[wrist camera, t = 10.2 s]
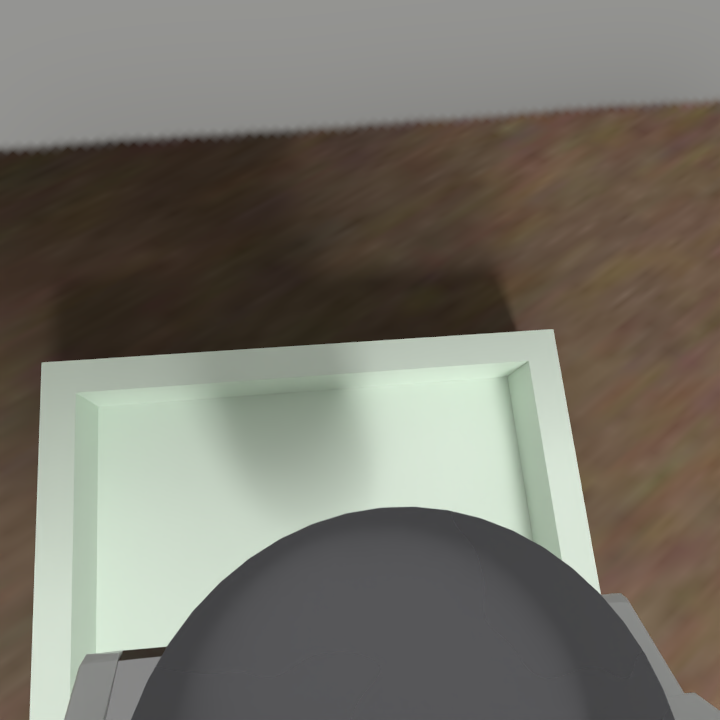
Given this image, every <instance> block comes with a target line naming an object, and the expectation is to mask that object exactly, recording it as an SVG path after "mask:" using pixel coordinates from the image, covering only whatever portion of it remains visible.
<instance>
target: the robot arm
mask: <svg viewBox="0 0 720 720" xmlns="http://www.w3.org/2000/svg"><path fill="white" fill-rule="evenodd" d="M601 596H602V597H603V598H604V599H605V600H606V601H607V603H608V604H609V605H610V606H611V607H612V608H613V610H614V611H615V612H616V613H617V614H618V616H619V617H620V618H621V619H622V620H623V621H624V623H625V624H626V626H627V627H628V629H629V630H630V632H631V633H632V635H633V636H634V638H635V639H636V641H637V642H638V644H639V645H640V647H641V648H642V650H643V651H644V653H645V655H646V657H647V659H648V660H649V662H650V664H651V666H652V668H653V670H654V672H655V674H656V676H657V678H658V680H659V682H660V684H661V686H662V688H663V690H664V692H665V695H666V698H667V700H668V703H669V706H670V708H671V711H672V713H673V716H674V719H675V720H720V711H719V710H718V709H717V708H715V707H714V706H712V705H711V704H710V703H708V702H707V701H706V700H704V699H703V698H701V697H700V696H699V695H697V694H696V693H684V692H683V690H682V688H681V687H680V685H679V683H678V682H677V680H676V678H675V677H674V675H673V674H672V672H671V670H670V669H669V667H668V665H667V664H666V662H665V660H664V659H663V657H662V655H661V654H660V652H659V650H658V649H657V647H656V645H655V644H654V642H653V640H652V639H651V637H650V635H649V634H648V632H647V630H646V629H645V627H644V626H643V624H642V622H641V621H640V619H639V617H638V616H637V614H636V612H635V611H634V609H633V607H632V606H631V604H630V602H629V601H628V599H627V598H626V597H625V596H623V595H622V594H621V593H612V594H605V595H601ZM166 647H167V646H165V647H154V648H144V649H134V650H121V651H112V652H103V653H95V654H86V656H85V657H84V659H83V661H82V663H81V664H80V666H79V668H78V672H77V675H76V679H75V682H74V686H73V690H72V693H71V697H70V700H69V704H68V707H67V711H66V714H65V718H64V720H131V718H132V716H133V714H134V711H135V709H136V707H137V704H138V702H139V700H140V697H141V695H142V693H143V690H144V688H145V685H146V683H147V681H148V679H149V677H150V675H151V674H152V672H153V670H154V668H155V667H156V665H157V663H158V661H159V660H160V658H161V656H162V654H163V653H164V651H165V649H166Z"/></svg>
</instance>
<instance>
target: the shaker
mask: <svg viewBox="0 0 720 720" xmlns="http://www.w3.org/2000/svg"><path fill="white" fill-rule="evenodd" d="M131 720H675V719H674V716H673V713H672V711H671V708H670V706H669V703H668V700H667V698H666V695H665V692H664V690H663V688H662V686H661V684H660V682H659V680H658V678H657V676H656V674H655V672H654V670H653V668H652V666H651V664H650V662H649V660H648V659H647V657H646V655H645V653H644V651H643V650H642V648H641V647H640V645H639V644H638V642H637V641H636V639H635V638H634V636H633V635H632V633H631V632H630V630H629V629H628V627H627V626H626V624H625V623H624V621H623V620H622V619H621V618H620V617H619V616H618V614H617V613H616V612H615V611H614V610H613V608H612V607H611V606H610V605H609V604H608V603H607V601H606V600H605V599H604V598H603V597H602V596H601V594H600V593H599V592H598V591H597V590H596V589H594V588H593V587H592V586H591V585H590V584H589V583H588V582H587V581H586V580H585V579H584V578H583V577H582V576H580V575H579V574H578V573H577V572H576V571H575V570H574V569H573V568H572V567H570V566H569V565H567V564H566V563H565V562H563V561H562V560H561V559H559V558H558V557H556V556H555V555H554V554H552V553H551V552H549V551H548V550H547V549H545V548H544V547H542V546H540V545H539V544H537V543H535V542H533V541H531V540H529V539H528V538H526V537H524V536H522V535H520V534H518V533H517V532H515V531H513V530H510V529H508V528H505V527H502V526H500V525H497V524H495V523H492V522H490V521H487V520H484V519H482V518H478V517H474V516H470V515H466V514H462V513H458V512H453V511H449V510H441V509H432V508H422V507H387V508H376V509H370V510H364V511H358V512H352V513H346V514H343V515H340V516H336V517H333V518H330V519H327V520H323V521H320V522H317V523H314V524H311V525H309V526H307V527H305V528H303V529H300V530H298V531H296V532H294V533H292V534H290V535H287V536H285V537H283V538H281V539H279V540H278V541H276V542H274V543H273V544H271V545H270V546H268V547H266V548H265V549H263V550H262V551H260V552H259V553H257V554H255V555H254V556H252V557H251V558H249V559H248V560H247V561H245V562H244V563H243V564H242V565H241V566H239V567H238V568H237V569H236V570H234V571H233V572H232V573H231V574H230V575H228V576H227V577H226V578H225V579H224V580H222V581H221V582H220V583H219V584H218V585H217V586H216V587H215V588H214V589H213V590H212V591H211V592H210V593H209V595H208V596H207V597H206V598H205V599H204V600H203V601H202V602H201V603H200V604H199V605H198V606H197V607H196V608H195V609H194V610H193V611H192V613H191V614H190V616H189V617H188V618H187V620H186V621H185V622H184V624H183V625H182V626H181V628H180V629H179V630H178V632H177V633H176V634H175V636H174V637H173V638H172V640H171V641H170V643H169V644H168V646H167V647H166V649H165V651H164V653H163V654H162V656H161V658H160V660H159V661H158V663H157V665H156V667H155V668H154V670H153V672H152V674H151V675H150V677H149V679H148V681H147V683H146V685H145V688H144V690H143V693H142V695H141V697H140V700H139V702H138V704H137V707H136V709H135V711H134V714H133V716H132V718H131Z"/></svg>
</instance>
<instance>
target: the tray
mask: <svg viewBox="0 0 720 720" xmlns="http://www.w3.org/2000/svg"><path fill="white" fill-rule="evenodd" d="M387 507H422V508H432V509H441V510H449V511H453V512H458V513H462V514H466V515H470V516H474V517H478V518H482V519H484V520H487V521H490V522H492V523H495V524H497V525H500V526H502V527H505V528H508V529H510V530H513V531H515V532H517V533H518V534H520V535H522V536H524V537H526V538H528V539H529V540H531V541H533V542H535V543H537V544H539V545H540V546H542V547H544V548H545V549H547V550H548V551H549V552H551V553H552V554H554V555H555V556H556V557H558V558H559V559H561V560H562V561H563V562H565V563H566V564H567V565H569V566H570V567H572V568H573V569H574V570H575V571H576V572H577V573H578V574H579V575H580V576H582V577H583V578H584V579H585V580H586V581H587V582H588V583H589V584H590V585H591V586H592V587H593V588H594V589H596V590H597V591H598V592H599V593H600V588H599V582H598V576H597V571H596V565H595V560H594V554H593V549H592V543H591V537H590V532H589V526H588V521H587V515H586V510H585V504H584V498H583V493H582V487H581V482H580V476H579V471H578V465H577V459H576V454H575V448H574V443H573V437H572V432H571V426H570V420H569V415H568V409H567V404H566V398H565V393H564V387H563V381H562V376H561V370H560V365H559V359H558V353H557V348H556V342H555V337H554V331H553V329H549V330H534V331H518V332H503V333H488V334H472V335H457V336H442V337H426V338H411V339H395V340H380V341H365V342H349V343H334V344H319V345H303V346H288V347H273V348H257V349H242V350H226V351H211V352H196V353H180V354H165V355H150V356H134V357H119V358H104V359H88V360H73V361H57V362H42V366H41V396H40V426H39V456H38V486H37V515H36V545H35V575H34V605H33V635H32V664H31V694H30V720H64V718H65V714H66V711H67V707H68V704H69V700H70V697H71V693H72V690H73V686H74V682H75V679H76V675H77V672H78V668H79V666H80V664H81V663H82V661H83V659H84V657H85V656H86V654H95V653H103V652H112V651H121V650H134V649H144V648H154V647H165V646H168V644H169V643H170V641H171V640H172V638H173V637H174V636H175V634H176V633H177V632H178V630H179V629H180V628H181V626H182V625H183V624H184V622H185V621H186V620H187V618H188V617H189V616H190V614H191V613H192V611H193V610H194V609H195V608H196V607H197V606H198V605H199V604H200V603H201V602H202V601H203V600H204V599H205V598H206V597H207V596H208V595H209V593H210V592H211V591H212V590H213V589H214V588H215V587H216V586H217V585H218V584H219V583H220V582H221V581H222V580H224V579H225V578H226V577H227V576H228V575H230V574H231V573H232V572H233V571H234V570H236V569H237V568H238V567H239V566H241V565H242V564H243V563H244V562H245V561H247V560H248V559H249V558H251V557H252V556H254V555H255V554H257V553H259V552H260V551H262V550H263V549H265V548H266V547H268V546H270V545H271V544H273V543H274V542H276V541H278V540H279V539H281V538H283V537H285V536H287V535H290V534H292V533H294V532H296V531H298V530H300V529H303V528H305V527H307V526H309V525H311V524H314V523H317V522H320V521H323V520H327V519H330V518H333V517H336V516H340V515H343V514H346V513H352V512H358V511H364V510H370V509H376V508H387ZM600 594H601V593H600Z"/></svg>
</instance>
